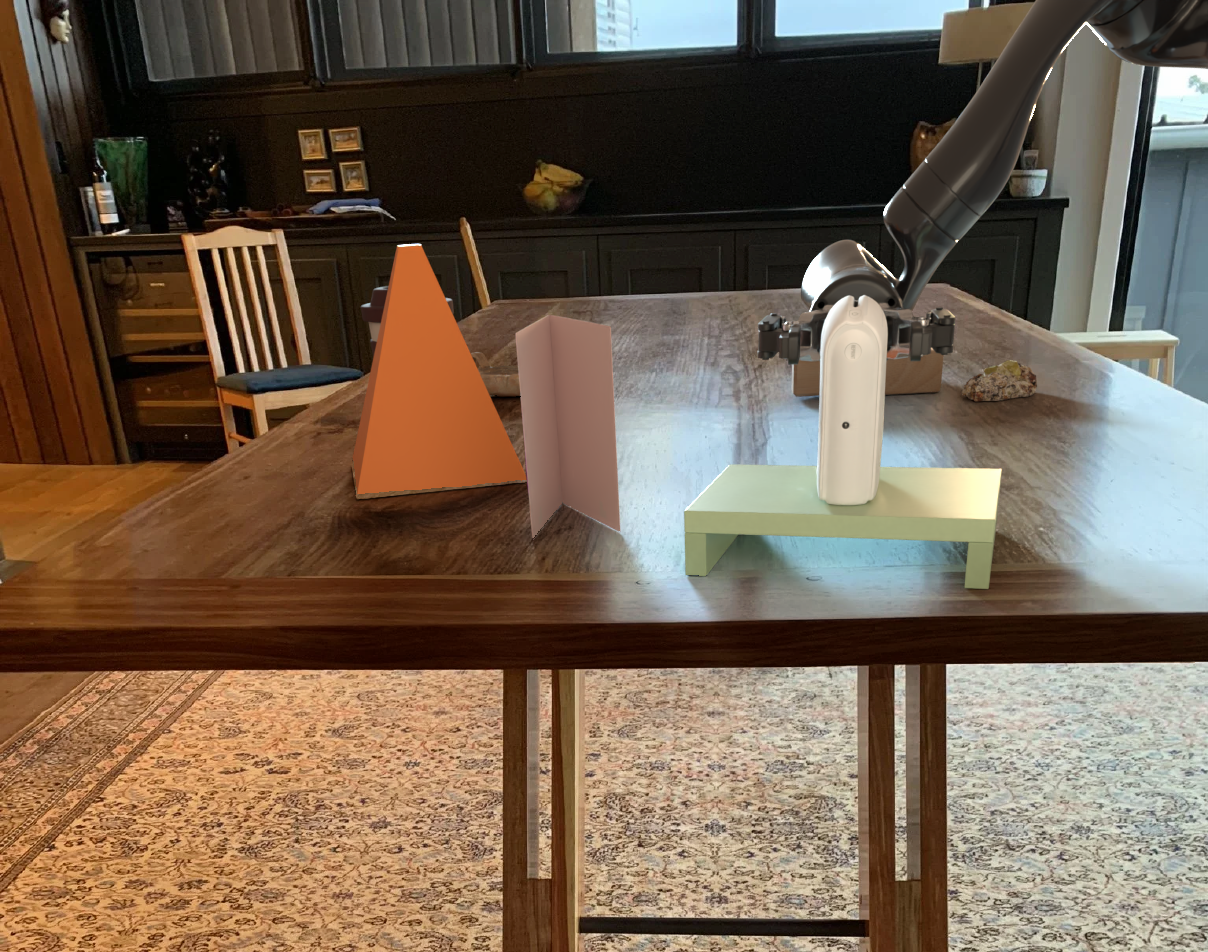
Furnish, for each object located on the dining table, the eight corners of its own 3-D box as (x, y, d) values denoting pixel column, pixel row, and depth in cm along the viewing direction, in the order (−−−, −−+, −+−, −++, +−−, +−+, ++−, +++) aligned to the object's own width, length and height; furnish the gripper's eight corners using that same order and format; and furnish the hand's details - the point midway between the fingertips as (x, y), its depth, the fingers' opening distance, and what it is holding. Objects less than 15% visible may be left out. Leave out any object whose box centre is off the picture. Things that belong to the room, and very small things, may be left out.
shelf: (995, 530, 88) (1002, 468, 86) (988, 589, 76) (995, 519, 74) (729, 522, 94) (729, 464, 92) (685, 575, 82) (683, 510, 80)
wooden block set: (953, 341, 136) (794, 350, 137) (949, 393, 139) (793, 401, 139) (919, 323, 151) (777, 331, 152) (916, 370, 154) (776, 378, 154)
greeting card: (552, 502, 102) (538, 314, 95) (638, 501, 101) (630, 311, 94) (521, 540, 92) (503, 333, 85) (616, 539, 91) (605, 329, 84)
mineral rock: (985, 363, 141) (1049, 347, 135) (991, 401, 142) (1055, 387, 136) (936, 380, 135) (1001, 364, 129) (943, 419, 136) (1008, 405, 130)
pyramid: (529, 482, 110) (509, 242, 100) (356, 500, 107) (319, 255, 98) (504, 449, 123) (485, 235, 114) (350, 464, 121) (318, 247, 111)
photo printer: (879, 506, 78) (891, 303, 72) (813, 506, 79) (819, 305, 73) (879, 471, 87) (890, 287, 81) (820, 471, 88) (826, 289, 82)
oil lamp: (560, 394, 152) (557, 353, 149) (515, 404, 147) (511, 361, 145) (496, 386, 160) (492, 347, 158) (451, 395, 156) (447, 355, 154)
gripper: (941, 365, 98) (954, 400, 84) (767, 369, 101) (752, 404, 87) (949, 265, 95) (963, 285, 81) (768, 273, 98) (752, 293, 84)
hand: (854, 347), depth 84 cm, fingers open, 8 cm apart
